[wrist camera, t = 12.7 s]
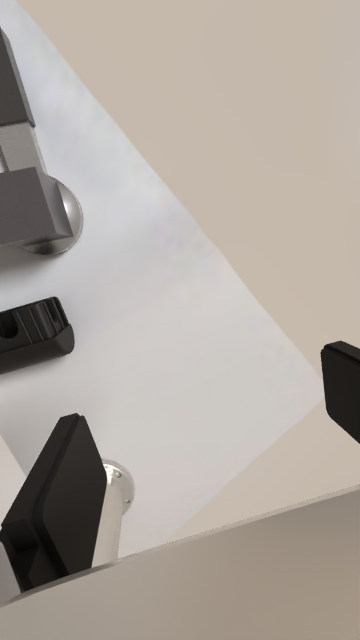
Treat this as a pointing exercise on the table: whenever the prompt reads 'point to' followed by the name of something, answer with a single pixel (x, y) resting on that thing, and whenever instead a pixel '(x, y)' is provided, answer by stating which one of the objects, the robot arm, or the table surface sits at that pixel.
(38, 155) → the ratchet
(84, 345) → the table surface
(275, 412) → the table surface
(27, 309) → the end cap
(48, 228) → the matte grey cube
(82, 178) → the table surface
